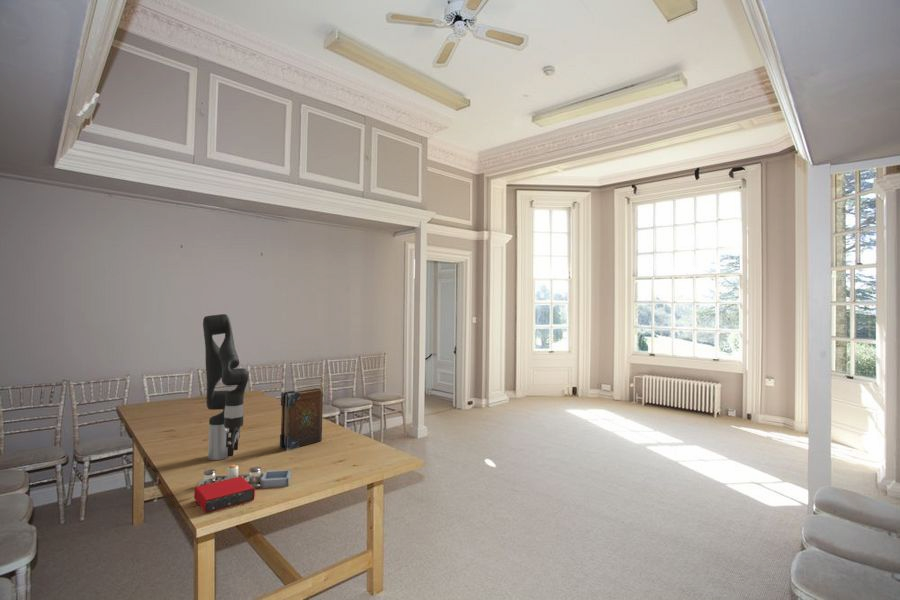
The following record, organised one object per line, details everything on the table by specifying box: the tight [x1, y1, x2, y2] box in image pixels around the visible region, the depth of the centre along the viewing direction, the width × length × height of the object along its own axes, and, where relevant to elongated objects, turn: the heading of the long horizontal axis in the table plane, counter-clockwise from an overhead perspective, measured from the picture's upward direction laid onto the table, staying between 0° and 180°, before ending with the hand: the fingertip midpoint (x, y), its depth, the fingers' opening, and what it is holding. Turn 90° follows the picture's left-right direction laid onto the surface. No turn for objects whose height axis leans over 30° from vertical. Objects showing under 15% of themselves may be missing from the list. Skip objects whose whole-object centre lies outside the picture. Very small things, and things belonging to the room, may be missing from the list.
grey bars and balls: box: [196, 466, 264, 489], centre depth 191 cm, size 19×26×6 cm
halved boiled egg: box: [226, 464, 239, 479], centre depth 193 cm, size 4×4×7 cm
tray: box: [260, 469, 292, 489], centre depth 195 cm, size 11×11×3 cm
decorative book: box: [279, 387, 324, 452], centre depth 249 cm, size 23×7×30 cm, turn 143°
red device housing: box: [193, 476, 256, 514], centre depth 176 cm, size 18×14×5 cm
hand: (232, 453), depth 193 cm, fingers open, 8 cm apart
